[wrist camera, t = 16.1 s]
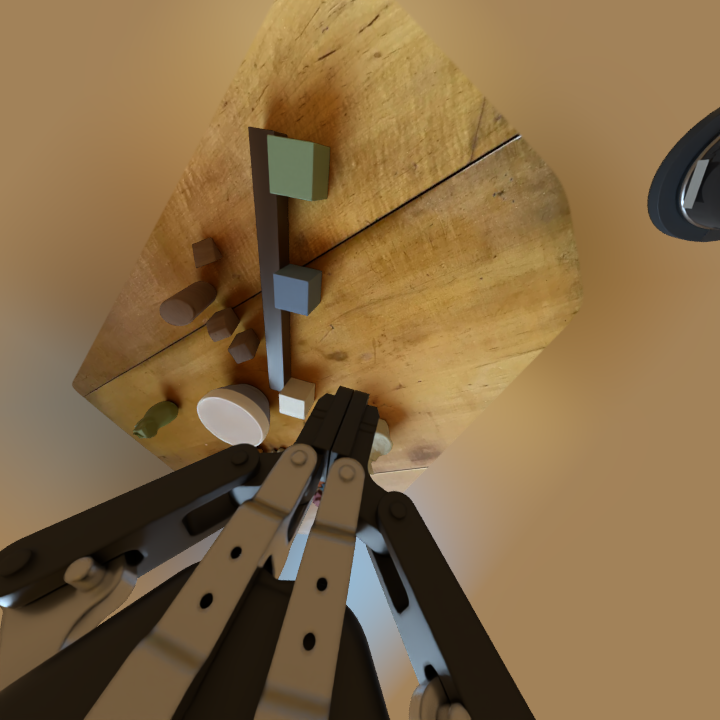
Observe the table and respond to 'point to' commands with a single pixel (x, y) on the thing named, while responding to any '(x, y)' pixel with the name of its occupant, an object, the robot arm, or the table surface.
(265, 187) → the straightedge
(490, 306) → the table surface
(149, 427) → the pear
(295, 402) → the cream block
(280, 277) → the blue block
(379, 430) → the bone
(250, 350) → the wooden block set
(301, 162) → the green block
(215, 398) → the bowl
